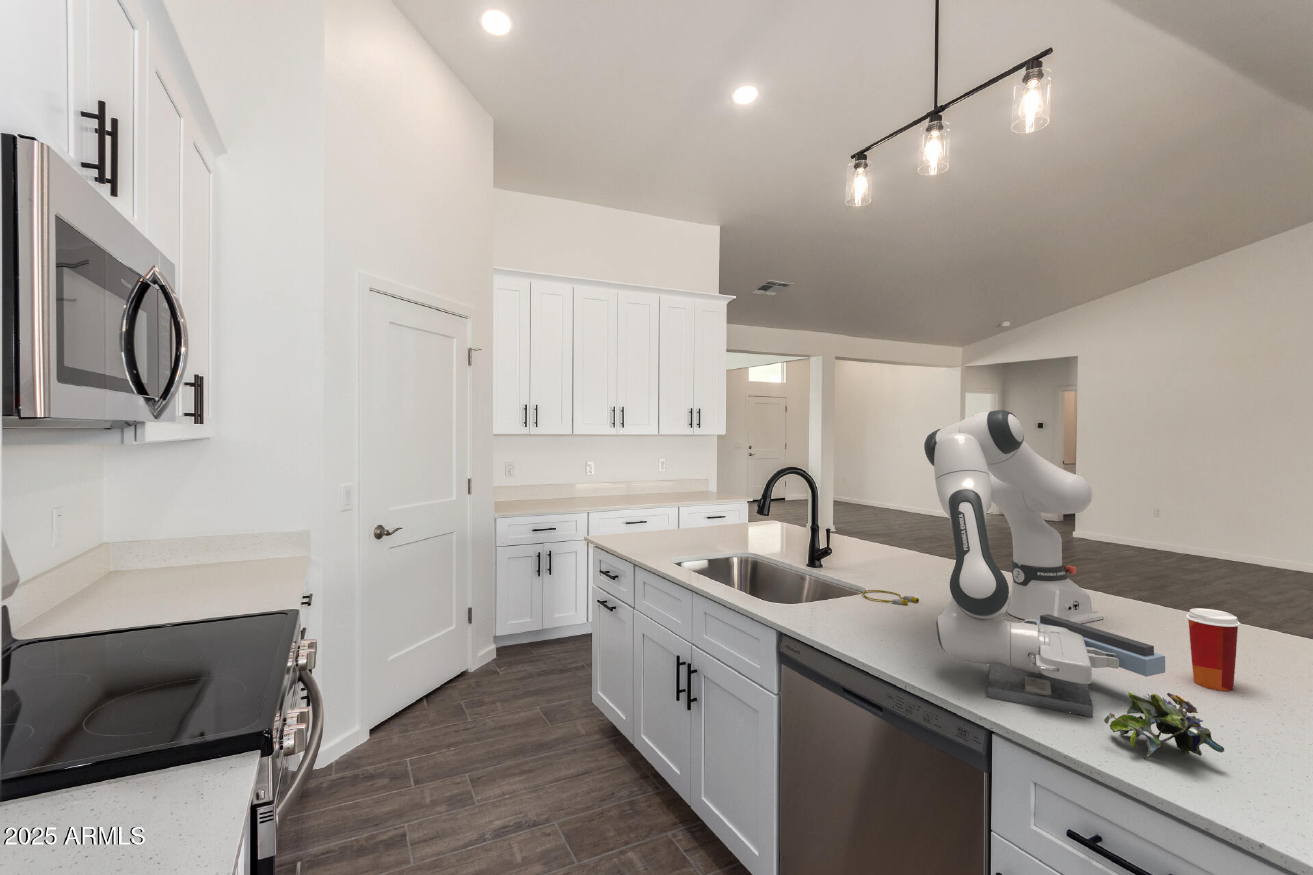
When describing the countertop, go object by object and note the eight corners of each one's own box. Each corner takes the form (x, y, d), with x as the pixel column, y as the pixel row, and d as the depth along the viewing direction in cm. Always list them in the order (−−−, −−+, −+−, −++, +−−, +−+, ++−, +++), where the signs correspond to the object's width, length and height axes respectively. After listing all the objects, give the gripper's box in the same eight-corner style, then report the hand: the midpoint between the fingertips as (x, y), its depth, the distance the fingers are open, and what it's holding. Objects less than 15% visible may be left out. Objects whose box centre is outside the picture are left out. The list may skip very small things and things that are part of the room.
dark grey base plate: (993, 652, 133) (993, 638, 133) (1080, 665, 125) (1080, 650, 125) (987, 697, 111) (987, 680, 111) (1092, 717, 103) (1092, 699, 103)
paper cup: (1226, 679, 117) (1225, 609, 117) (1250, 695, 110) (1249, 621, 110) (1177, 674, 120) (1177, 605, 120) (1198, 690, 112) (1197, 617, 112)
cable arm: (1018, 645, 128) (1018, 610, 128) (1035, 642, 129) (1035, 608, 129) (1146, 693, 104) (1146, 650, 104) (1165, 689, 106) (1165, 646, 106)
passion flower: (1182, 786, 92) (1245, 743, 86) (1140, 790, 88) (1204, 745, 82) (1120, 718, 101) (1174, 674, 95) (1080, 719, 97) (1133, 674, 91)
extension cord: (885, 609, 168) (885, 602, 168) (854, 594, 183) (854, 588, 183) (922, 605, 171) (922, 598, 171) (888, 591, 186) (888, 585, 186)
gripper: (1028, 648, 106) (1126, 663, 98) (1027, 617, 123) (1111, 627, 116) (1029, 683, 106) (1126, 701, 98) (1028, 647, 123) (1111, 659, 116)
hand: (1118, 661), depth 107 cm, fingers closed
